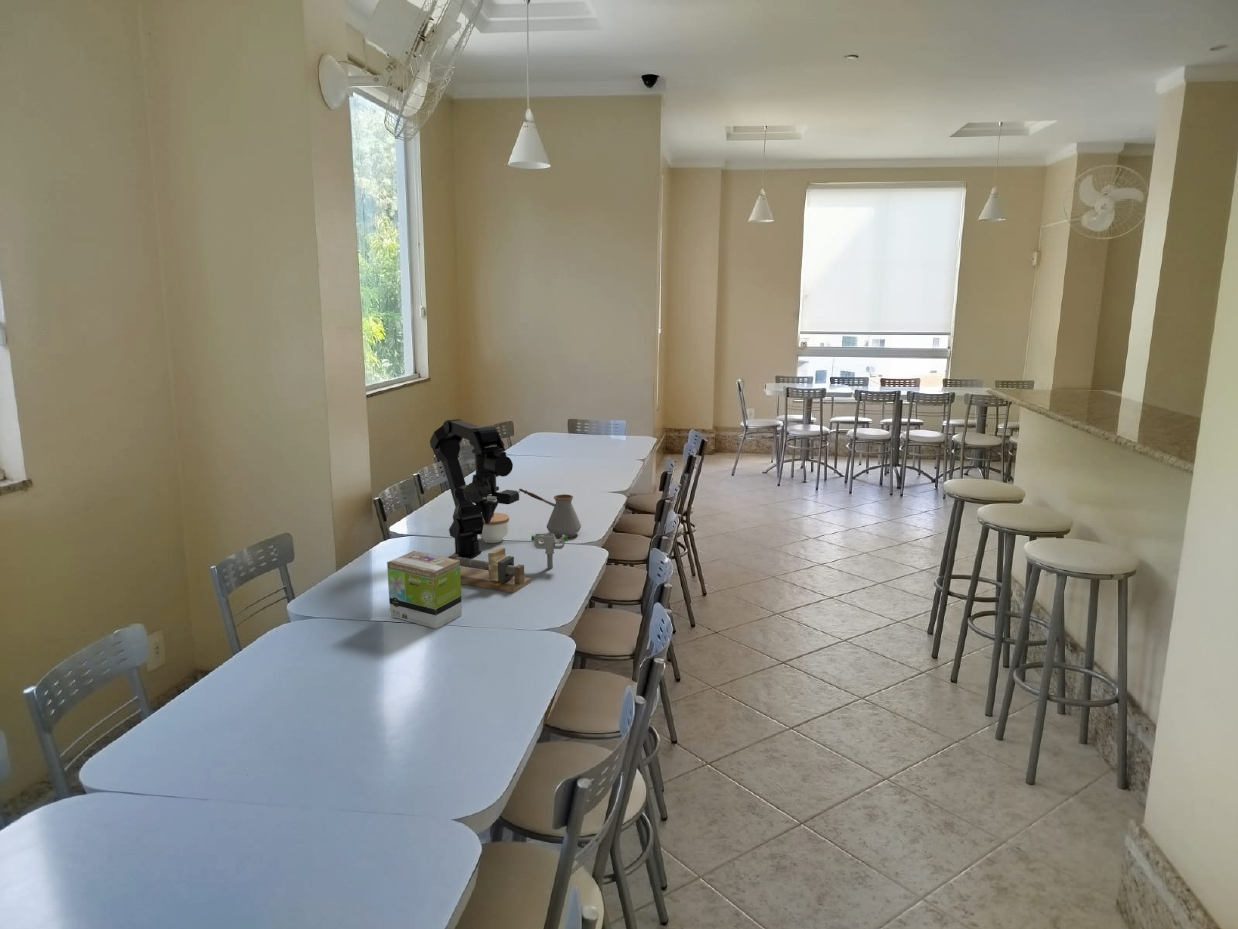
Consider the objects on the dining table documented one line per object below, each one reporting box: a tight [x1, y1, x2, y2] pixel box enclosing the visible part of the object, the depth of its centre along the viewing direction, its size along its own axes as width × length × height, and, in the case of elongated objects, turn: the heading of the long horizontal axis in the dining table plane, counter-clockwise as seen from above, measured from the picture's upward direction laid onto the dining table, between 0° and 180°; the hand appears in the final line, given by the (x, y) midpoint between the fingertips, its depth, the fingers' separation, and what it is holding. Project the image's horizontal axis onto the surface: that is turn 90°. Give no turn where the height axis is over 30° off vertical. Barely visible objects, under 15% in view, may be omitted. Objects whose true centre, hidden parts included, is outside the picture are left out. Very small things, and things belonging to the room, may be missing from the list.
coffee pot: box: [517, 488, 582, 539], centre depth 262 cm, size 21×12×15 cm, turn 80°
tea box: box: [386, 550, 463, 630], centre depth 193 cm, size 15×10×15 cm, turn 62°
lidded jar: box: [478, 512, 510, 544], centre depth 255 cm, size 11×11×9 cm
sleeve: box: [487, 546, 509, 581], centre depth 216 cm, size 3×5×8 cm, turn 155°
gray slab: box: [498, 555, 515, 583], centre depth 216 cm, size 2×6×6 cm, turn 156°
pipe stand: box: [448, 553, 532, 594], centre depth 218 cm, size 23×9×6 cm, turn 66°
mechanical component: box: [531, 533, 568, 570], centre depth 229 cm, size 3×10×10 cm, turn 89°
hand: (487, 523), depth 229 cm, fingers closed
